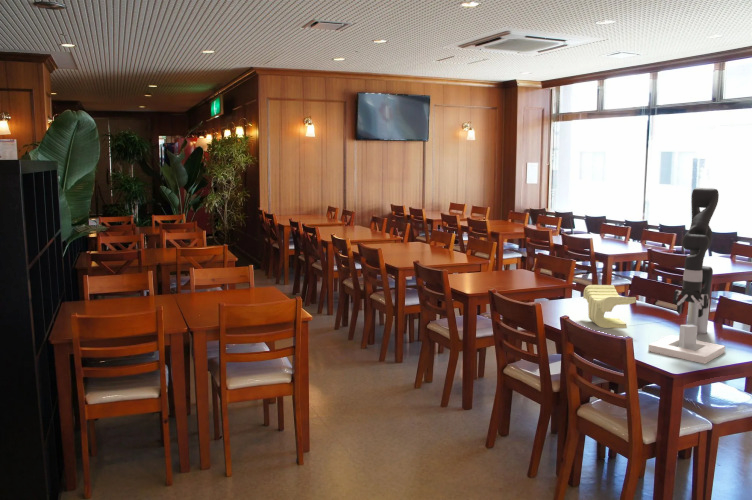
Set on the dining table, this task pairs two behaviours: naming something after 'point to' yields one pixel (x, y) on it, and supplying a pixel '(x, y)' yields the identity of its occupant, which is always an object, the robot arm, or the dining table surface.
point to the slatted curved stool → (605, 304)
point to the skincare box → (688, 337)
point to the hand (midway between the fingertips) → (689, 315)
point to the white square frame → (701, 355)
